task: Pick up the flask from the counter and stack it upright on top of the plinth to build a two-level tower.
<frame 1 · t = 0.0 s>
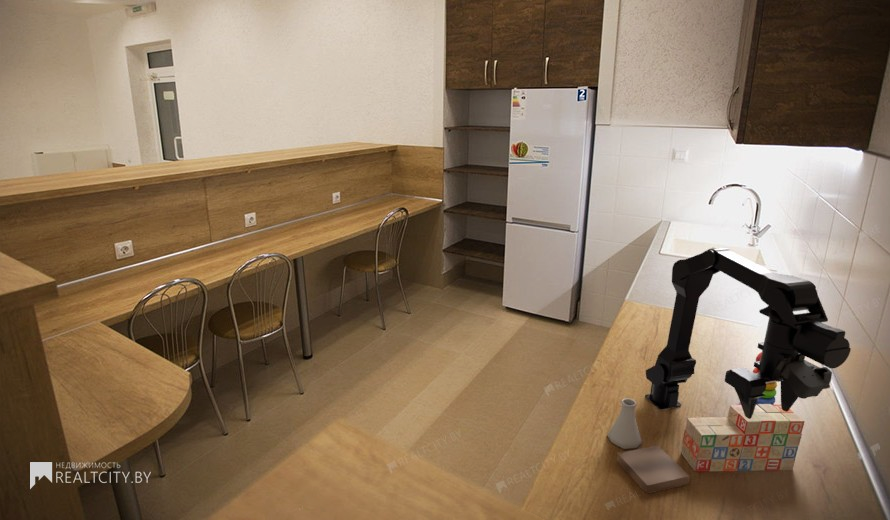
hand: (766, 414, 101), 15 cm above the worktop, tool pointing down, fingers open, 9 cm apart
stack of blocks: (735, 462, 110), on the worktop
flask: (624, 440, 117), on the worktop
stacking toy: (753, 421, 124), on the worktop
plinth: (651, 472, 106), on the worktop
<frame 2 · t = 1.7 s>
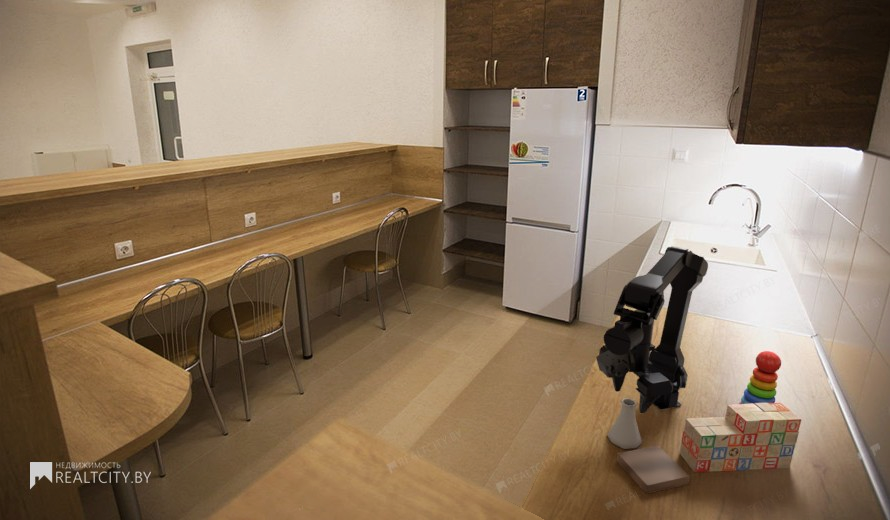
hand: (629, 401, 114), 10 cm above the worktop, tool pointing down, fingers open, 9 cm apart
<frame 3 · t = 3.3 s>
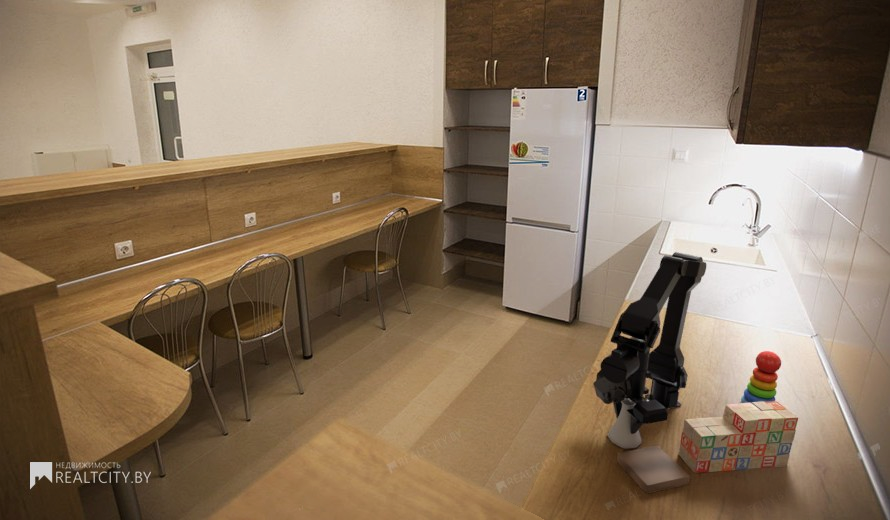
hand: (626, 426, 115), 4 cm above the worktop, tool pointing down, fingers closed on flask, 5 cm apart
flask: (624, 440, 116), on the worktop, touching gripper
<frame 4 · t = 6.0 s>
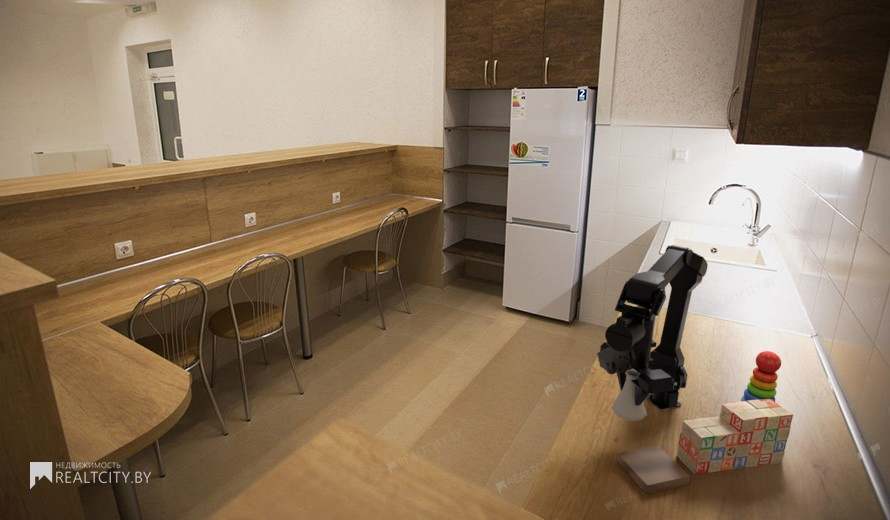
hand: (630, 398, 113), 11 cm above the worktop, tool pointing down, fingers closed on flask, 5 cm apart
flask: (628, 413, 114), point 7 cm above the worktop, touching gripper
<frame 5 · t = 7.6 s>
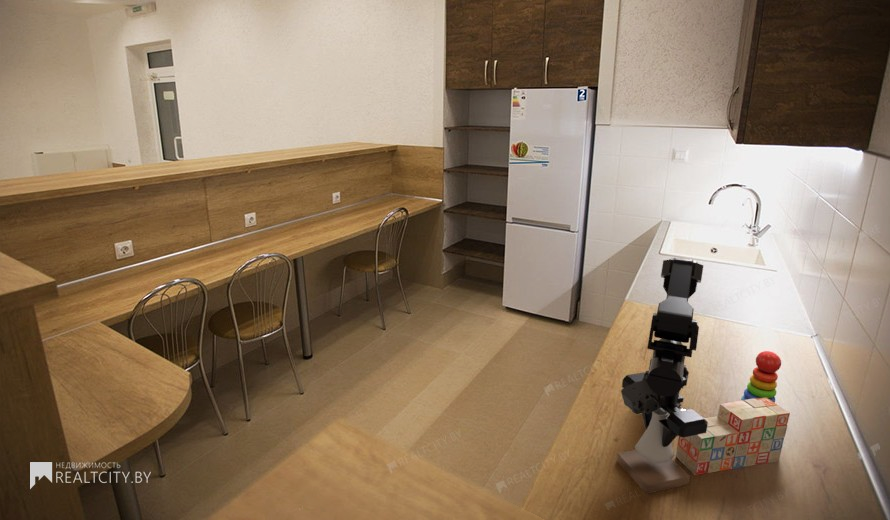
hand: (656, 438, 104), 8 cm above the worktop, tool pointing down, fingers closed on flask, 5 cm apart
flask: (654, 453, 105), point 5 cm above the worktop, touching gripper
when the fingers open (6 cm above the worktop, at t = 8.8 s): flask stays where it is, resting on plinth.
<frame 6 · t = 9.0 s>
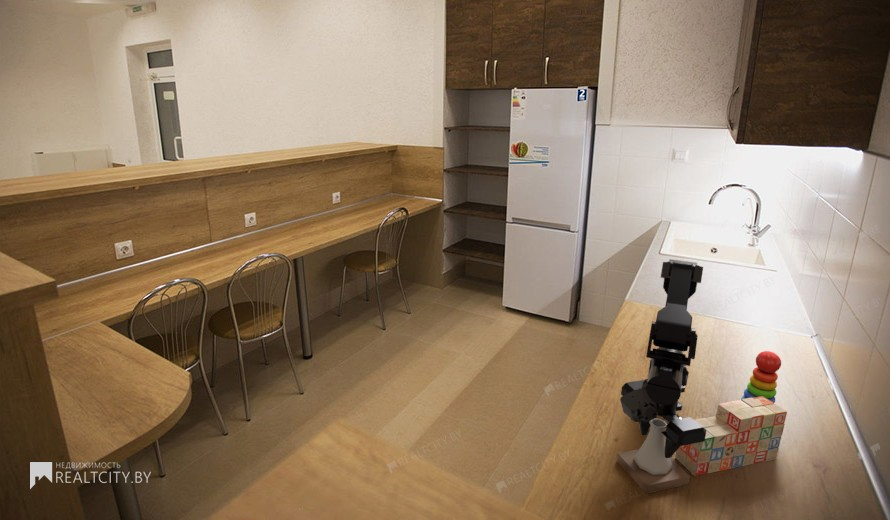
hand: (655, 445, 104), 6 cm above the worktop, tool pointing down, fingers open, 7 cm apart
flask: (652, 464, 106), point 2 cm above the worktop, touching plinth
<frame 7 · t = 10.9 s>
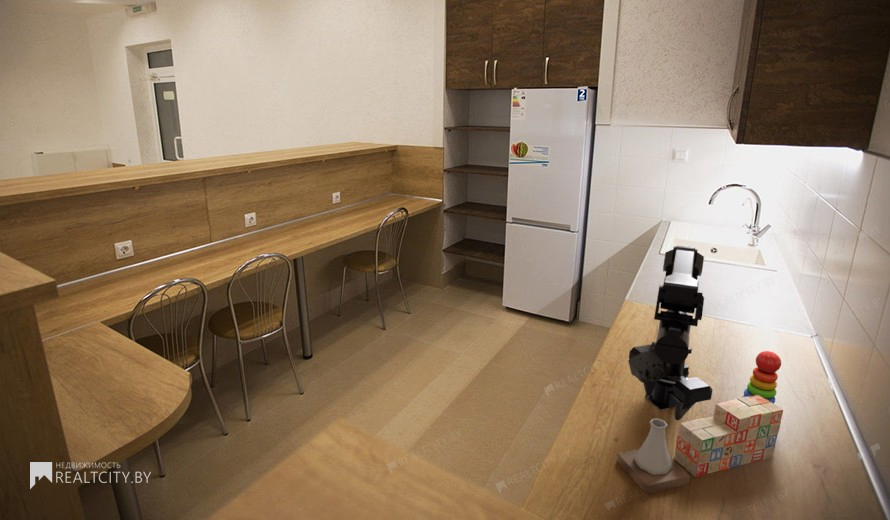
hand: (662, 407, 107), 12 cm above the worktop, tool pointing down, fingers open, 9 cm apart
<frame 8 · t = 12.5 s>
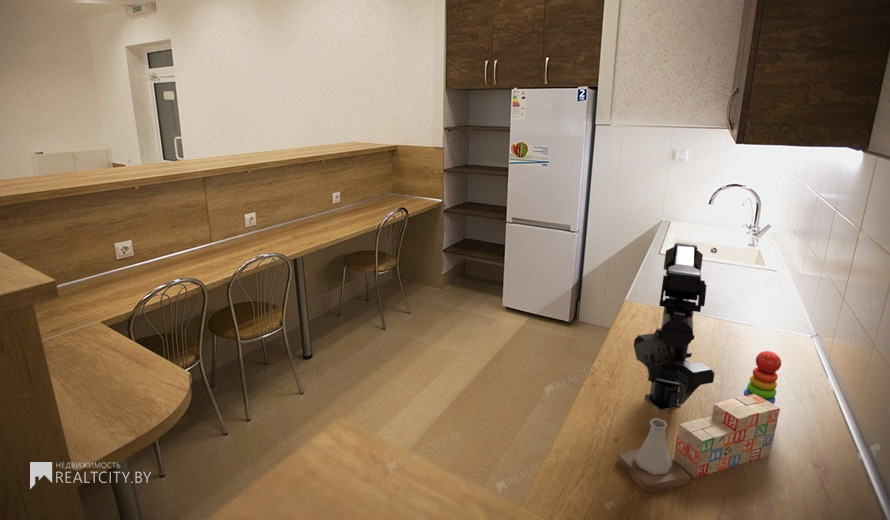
hand: (666, 392, 112), 13 cm above the worktop, tool pointing down, fingers open, 9 cm apart
at the end: flask 0.1 cm off-centre on the plinth, point 1.8 cm above the plinth's base; flask tilted 0°; the gripper is holding nothing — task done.
